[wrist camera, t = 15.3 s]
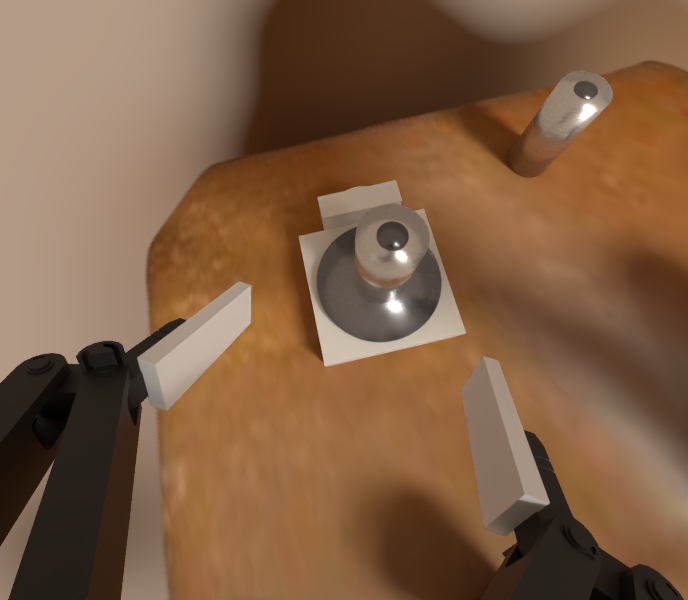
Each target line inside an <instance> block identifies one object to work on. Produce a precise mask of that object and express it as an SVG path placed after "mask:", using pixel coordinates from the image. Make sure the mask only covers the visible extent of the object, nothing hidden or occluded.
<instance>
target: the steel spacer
mask: <svg viewBox="0 0 688 600" xmlns="http://www.w3.org/2000/svg"><path fill="white" fill-rule="evenodd" d="M612 97H613V92H612V88H611V86H610V85H609V83H608V82H607V81H606V80H605V79H604V78H602V77H601V76H599V75H597V74H595V73H592V72H588V71H574V72H571V73H568V74H566V75H565V76H564V77H563V78H562V79H561V80H560V82H559V83H558V84H557V86H556V87H555V89H554V90H553V91H552V93H551V94H550V95H549V97H548V98H547V100H546V101H545V102H544V104H543V105H542V107H541V108H540V109H539V111H538V112H537V114H536V115H535V116H534V118H533V119H532V120H531V122H530V123H529V125H528V126H527V127H526V129H525V130H524V132H523V133H522V134H521V136H520V137H519V139H518V140H517V141H516V143H515V144H514V146H513V147H512V148H511V150H510V151H509V153H508V155H507V163H508V166H509V167H510V169H511V170H512V171H513V172H515V173H516V174H518V175H520V176H523V177H536V176H538V175H540V174H542V173H543V172H544V171H545V170H546V169H547V168H548V167H549V166H550V165H551V163H552V162H553V161H554V160H555V159H556V158H557V157H558V156H559V155H560V154H561V153H562V152H563V151H564V150H565V149H566V148H567V147H568V146H569V145H570V144H571V143H572V142H573V141H574V140H575V139H576V138H577V137H578V136H579V135H580V134H581V132H582V131H583V130H584V129H585V128H586V127H587V126H588V125H589V124H590V123H591V122H592V121H593V120H594V119H595V118H596V117H597V116H598V115H599V114H600V113H601V112H602V111H603V110H604V109H605V108H606V107H607V106H608V105H609V103H610V102H611V100H612Z"/></svg>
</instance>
